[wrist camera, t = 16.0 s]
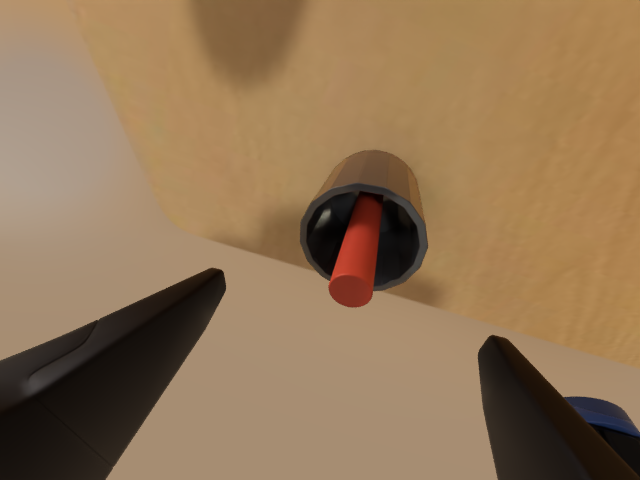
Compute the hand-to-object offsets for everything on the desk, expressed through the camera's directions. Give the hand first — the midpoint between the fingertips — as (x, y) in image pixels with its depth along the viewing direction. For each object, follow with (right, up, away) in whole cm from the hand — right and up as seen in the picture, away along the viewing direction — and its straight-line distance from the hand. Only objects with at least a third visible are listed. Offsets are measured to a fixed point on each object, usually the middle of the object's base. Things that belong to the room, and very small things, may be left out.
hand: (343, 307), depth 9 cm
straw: (+3, +5, +8) cm, 10 cm away
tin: (+3, +5, +8) cm, 10 cm away
